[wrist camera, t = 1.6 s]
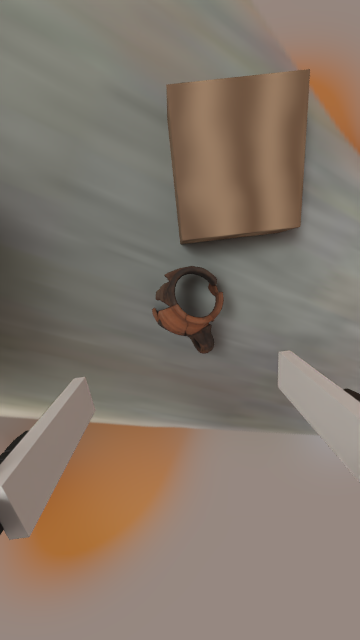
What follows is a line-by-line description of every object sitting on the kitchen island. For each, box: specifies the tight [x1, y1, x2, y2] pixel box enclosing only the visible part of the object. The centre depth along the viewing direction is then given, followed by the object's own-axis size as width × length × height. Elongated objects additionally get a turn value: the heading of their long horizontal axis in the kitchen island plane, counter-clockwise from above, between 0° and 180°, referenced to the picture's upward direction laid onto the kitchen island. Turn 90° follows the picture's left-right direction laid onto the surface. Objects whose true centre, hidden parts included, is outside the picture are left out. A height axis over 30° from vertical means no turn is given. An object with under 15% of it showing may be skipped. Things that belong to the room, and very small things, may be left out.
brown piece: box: [152, 266, 224, 354], centre depth 27 cm, size 12×9×8 cm
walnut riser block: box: [167, 69, 310, 244], centre depth 23 cm, size 14×14×5 cm
